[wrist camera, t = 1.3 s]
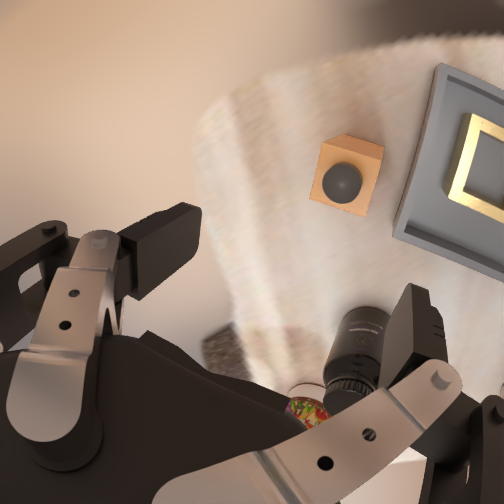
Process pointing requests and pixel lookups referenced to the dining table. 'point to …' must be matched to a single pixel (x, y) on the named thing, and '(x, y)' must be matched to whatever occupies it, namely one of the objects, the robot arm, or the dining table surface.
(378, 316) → the supplement bottle
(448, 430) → the robot arm
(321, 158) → the block
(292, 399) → the milk bottle
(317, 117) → the dining table surface
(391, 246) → the dining table surface
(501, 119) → the walled box
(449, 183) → the inlet
